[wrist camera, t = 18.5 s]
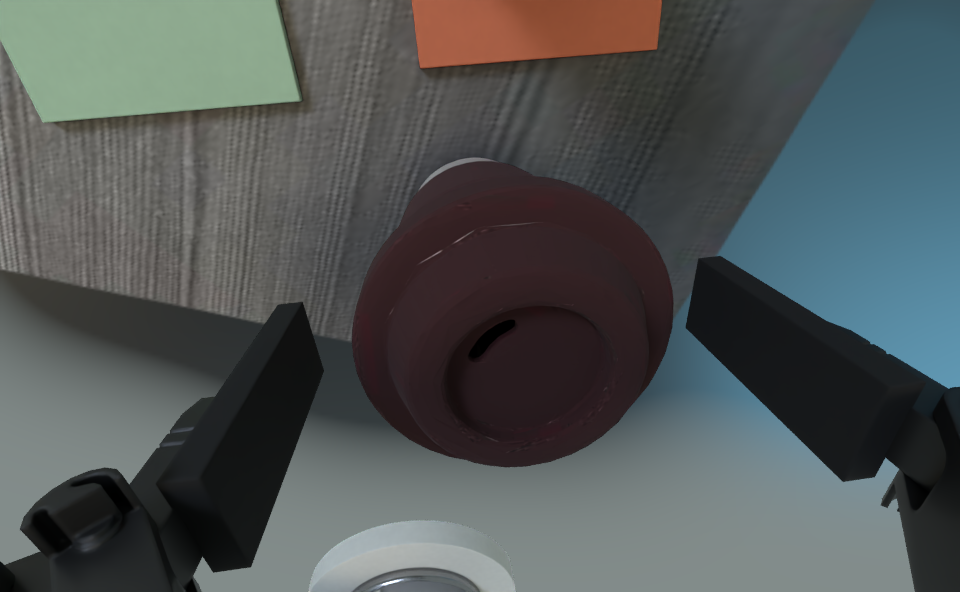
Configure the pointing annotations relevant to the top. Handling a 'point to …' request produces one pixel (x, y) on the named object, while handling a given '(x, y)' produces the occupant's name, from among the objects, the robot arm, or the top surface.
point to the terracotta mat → (531, 29)
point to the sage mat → (147, 55)
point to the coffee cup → (510, 316)
